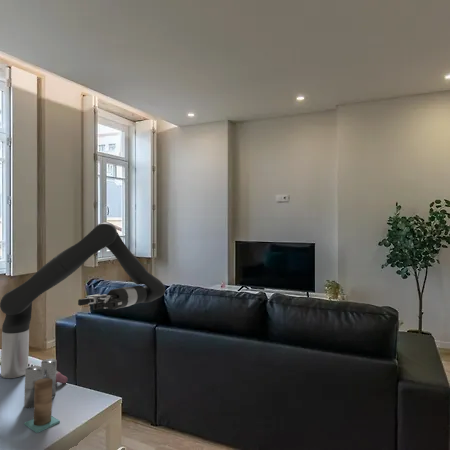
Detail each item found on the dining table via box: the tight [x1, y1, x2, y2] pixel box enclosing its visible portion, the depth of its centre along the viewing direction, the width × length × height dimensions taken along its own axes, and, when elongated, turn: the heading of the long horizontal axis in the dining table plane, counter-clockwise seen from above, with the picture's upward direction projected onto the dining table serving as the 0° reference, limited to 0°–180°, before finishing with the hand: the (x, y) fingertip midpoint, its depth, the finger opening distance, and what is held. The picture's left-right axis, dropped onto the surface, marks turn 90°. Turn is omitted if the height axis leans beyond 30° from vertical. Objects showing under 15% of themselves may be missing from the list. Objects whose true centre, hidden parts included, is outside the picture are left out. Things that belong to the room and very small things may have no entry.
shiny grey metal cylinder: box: [40, 358, 58, 398], centre depth 127 cm, size 5×5×12 cm
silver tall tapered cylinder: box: [23, 365, 42, 409], centre depth 121 cm, size 5×5×12 cm
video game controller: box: [56, 370, 69, 384], centre depth 137 cm, size 10×5×7 cm, turn 63°
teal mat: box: [24, 415, 61, 434], centre depth 111 cm, size 7×7×1 cm
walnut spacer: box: [33, 378, 53, 426], centre depth 111 cm, size 5×5×12 cm
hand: (86, 304), depth 128 cm, fingers open, 8 cm apart
